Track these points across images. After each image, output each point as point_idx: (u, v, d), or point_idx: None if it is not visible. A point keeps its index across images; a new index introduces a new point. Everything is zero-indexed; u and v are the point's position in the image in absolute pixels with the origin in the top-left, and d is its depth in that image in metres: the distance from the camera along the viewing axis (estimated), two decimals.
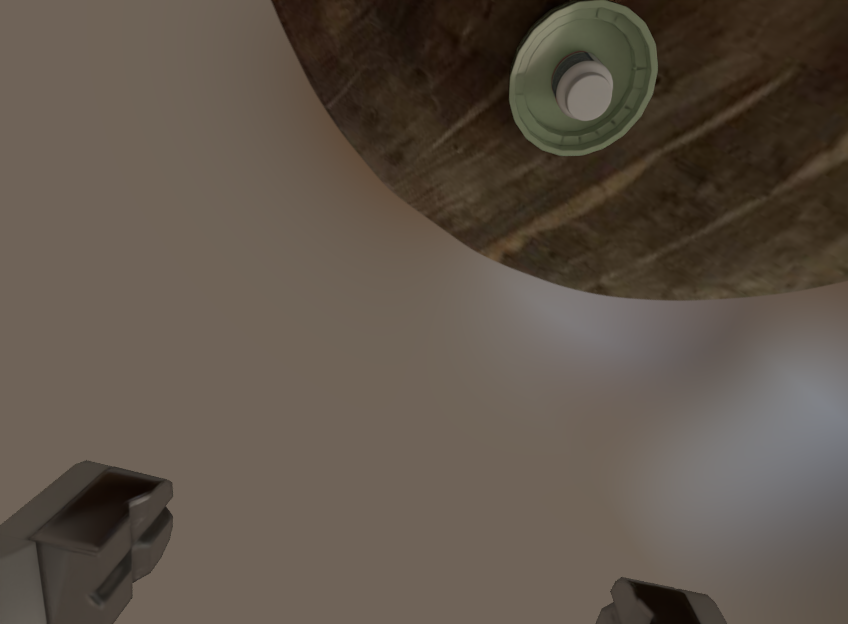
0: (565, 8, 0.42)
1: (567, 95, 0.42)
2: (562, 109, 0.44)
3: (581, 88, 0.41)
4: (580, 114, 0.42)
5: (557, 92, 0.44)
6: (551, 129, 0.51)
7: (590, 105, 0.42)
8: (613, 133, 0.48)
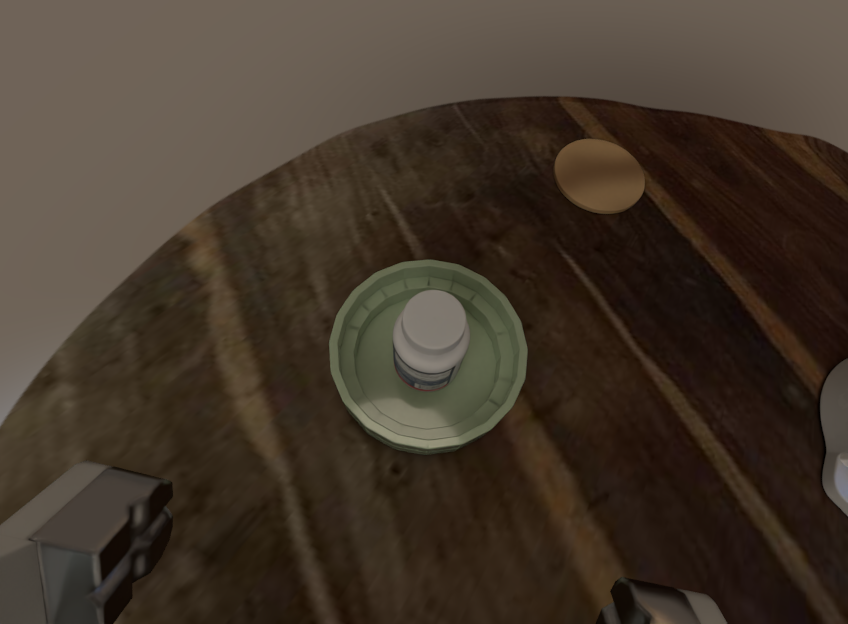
0: (523, 333, 0.33)
1: None
2: None
3: (451, 308, 0.28)
4: (414, 305, 0.28)
5: None
6: (368, 322, 0.36)
7: (425, 319, 0.27)
8: None
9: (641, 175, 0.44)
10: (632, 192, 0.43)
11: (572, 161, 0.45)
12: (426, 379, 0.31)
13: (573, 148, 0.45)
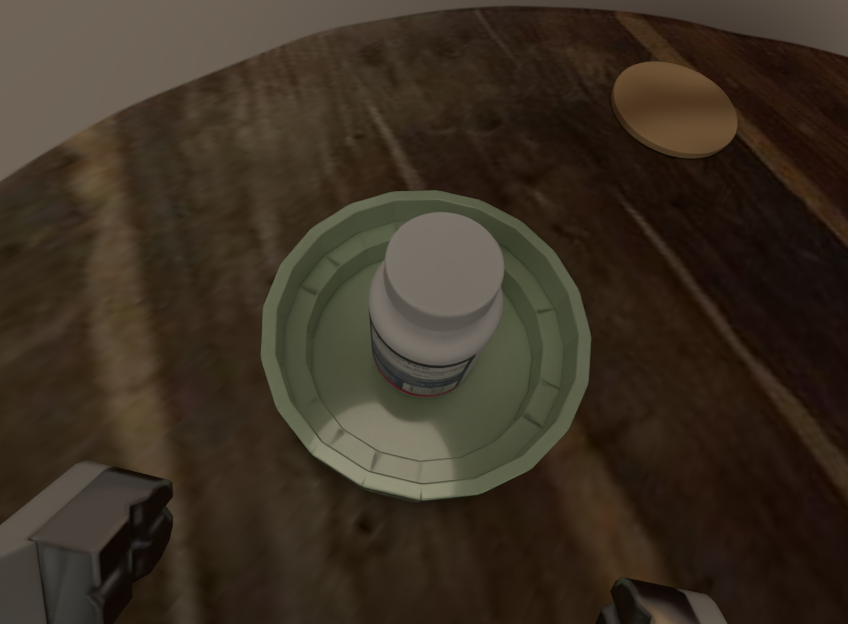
0: (583, 310, 0.20)
1: None
2: None
3: (477, 246, 0.15)
4: (409, 236, 0.15)
5: None
6: (336, 285, 0.23)
7: (427, 262, 0.15)
8: (288, 390, 0.18)
9: (732, 111, 0.32)
10: (722, 131, 0.31)
11: (637, 86, 0.32)
12: (423, 376, 0.18)
13: (638, 71, 0.33)
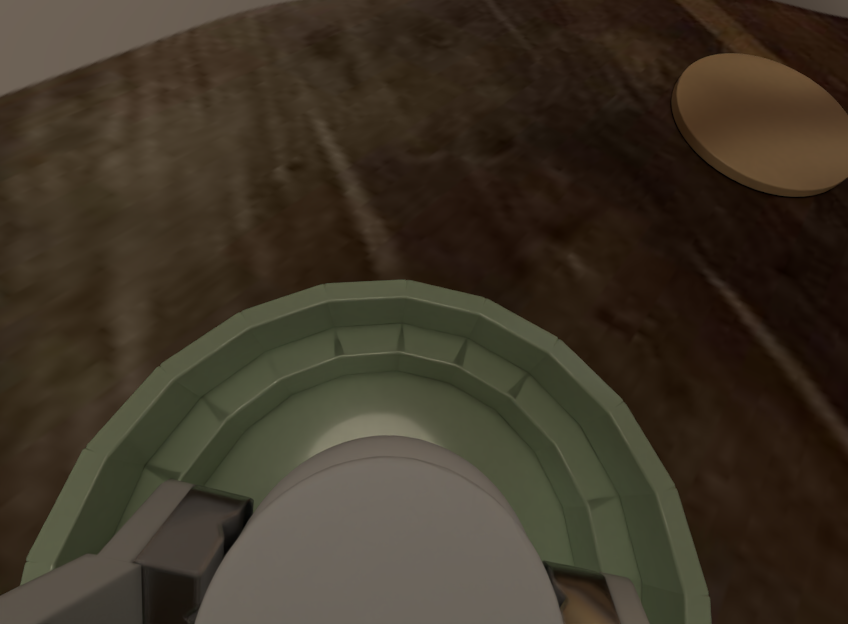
0: (687, 534, 0.10)
1: None
2: (327, 455, 0.08)
3: (483, 585, 0.05)
4: (274, 561, 0.05)
5: (421, 441, 0.08)
6: (230, 441, 0.13)
7: None
8: None
9: None
10: (839, 155, 0.21)
11: (710, 89, 0.22)
12: None
13: (709, 67, 0.23)
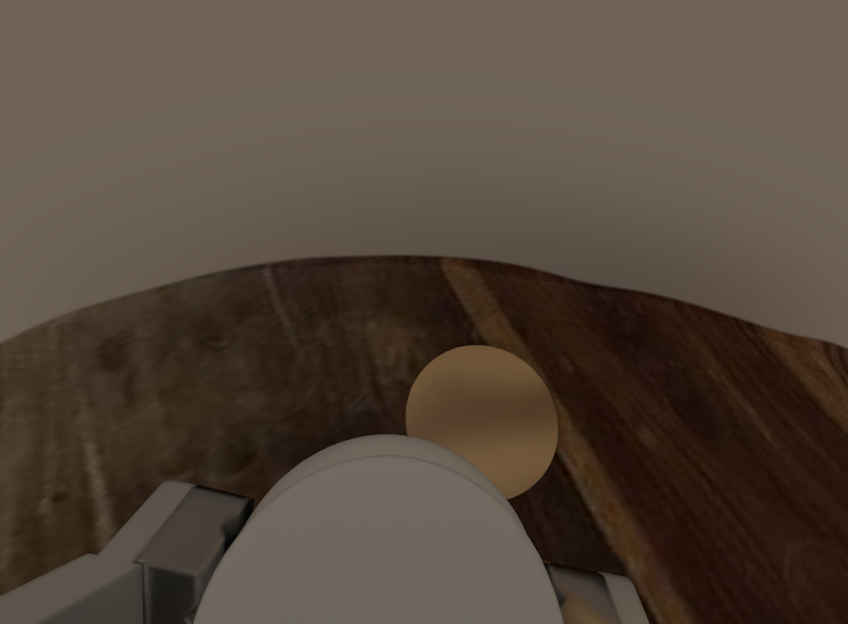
0: None
1: None
2: (326, 454, 0.08)
3: (483, 585, 0.05)
4: (274, 560, 0.05)
5: (420, 440, 0.08)
6: None
7: None
8: None
9: (553, 423, 0.26)
10: (534, 459, 0.25)
11: (439, 390, 0.26)
12: None
13: (446, 364, 0.27)
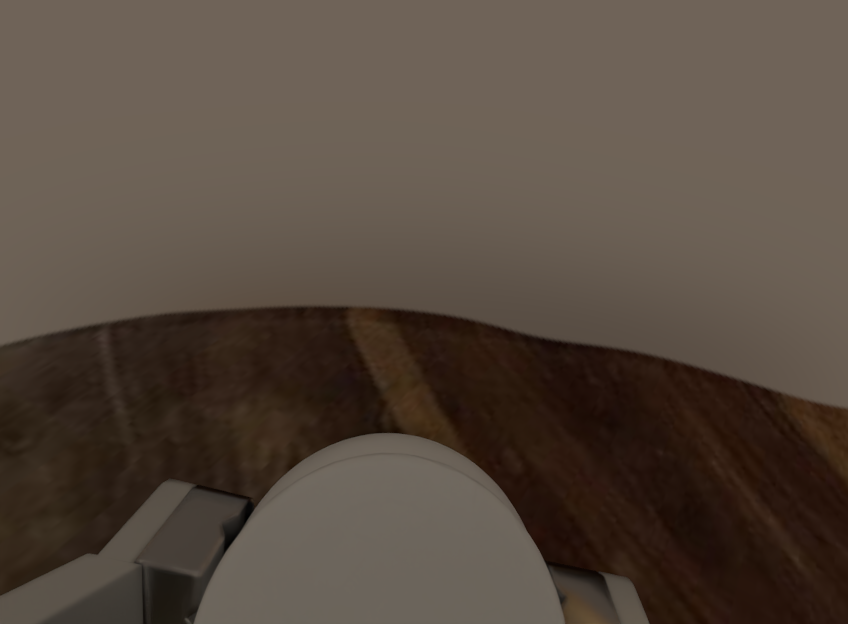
0: None
1: None
2: (327, 453, 0.08)
3: (484, 583, 0.05)
4: (275, 558, 0.05)
5: (421, 439, 0.08)
6: None
7: None
8: None
9: None
10: None
11: None
12: None
13: None
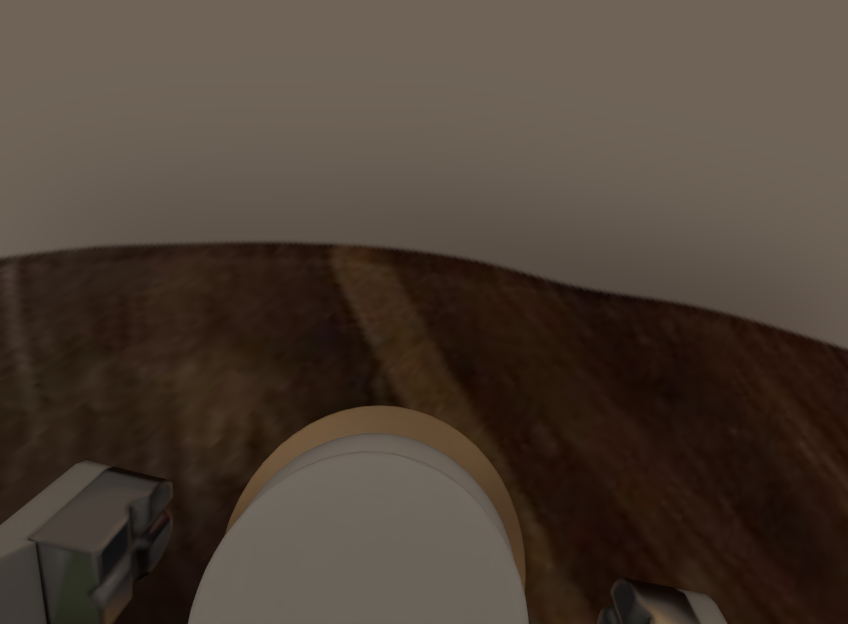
0: None
1: None
2: (318, 451, 0.08)
3: (455, 568, 0.05)
4: (266, 545, 0.05)
5: (406, 438, 0.09)
6: None
7: None
8: None
9: (516, 565, 0.13)
10: None
11: None
12: None
13: (314, 444, 0.14)
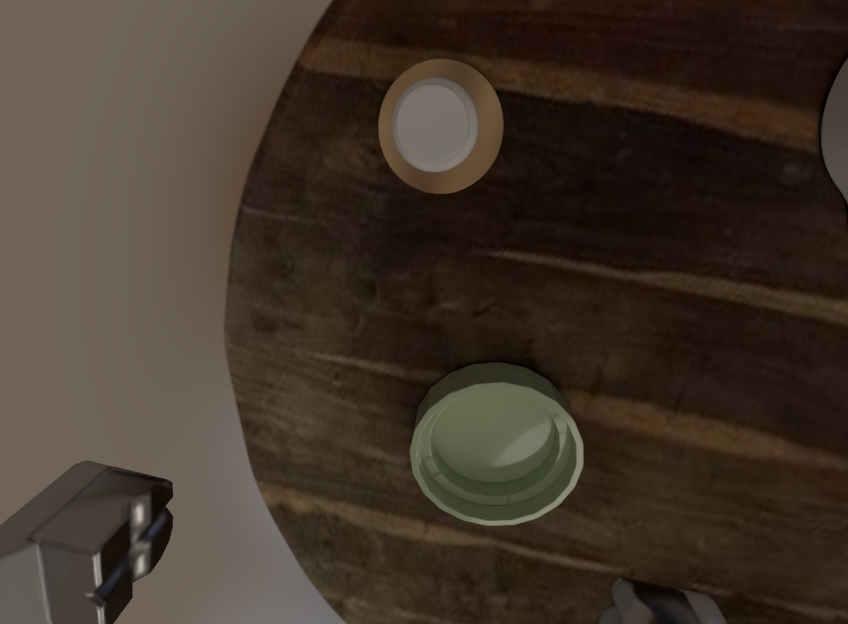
0: (543, 395, 0.35)
1: (412, 91, 0.24)
2: (393, 118, 0.26)
3: (434, 98, 0.23)
4: (406, 134, 0.24)
5: (405, 90, 0.26)
6: (434, 451, 0.41)
7: (427, 135, 0.24)
8: (481, 513, 0.40)
9: (478, 77, 0.31)
10: (489, 113, 0.32)
11: None
12: None
13: (387, 127, 0.32)
